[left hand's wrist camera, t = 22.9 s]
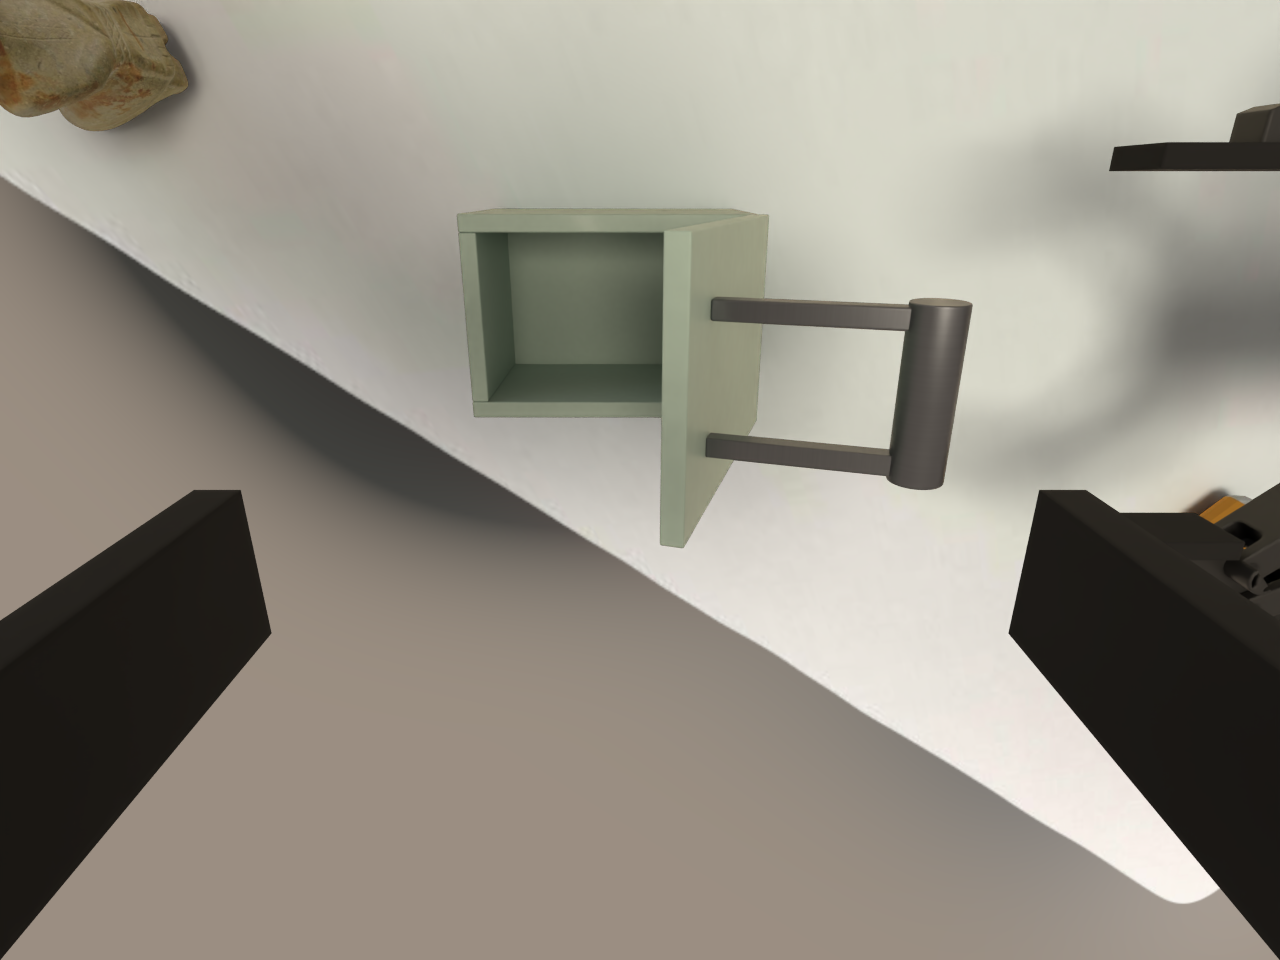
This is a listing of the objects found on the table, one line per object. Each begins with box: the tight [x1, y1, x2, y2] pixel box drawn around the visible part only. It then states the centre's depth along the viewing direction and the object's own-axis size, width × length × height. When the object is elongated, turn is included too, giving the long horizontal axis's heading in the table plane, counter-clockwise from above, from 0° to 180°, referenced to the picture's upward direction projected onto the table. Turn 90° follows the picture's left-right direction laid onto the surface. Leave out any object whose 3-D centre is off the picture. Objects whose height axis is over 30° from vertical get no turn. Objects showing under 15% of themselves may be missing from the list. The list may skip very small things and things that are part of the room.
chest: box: [457, 209, 757, 417], centre depth 40 cm, size 14×10×9 cm
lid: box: [660, 214, 973, 548], centre depth 27 cm, size 15×10×8 cm
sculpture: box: [0, 0, 188, 131], centre depth 32 cm, size 6×7×15 cm
